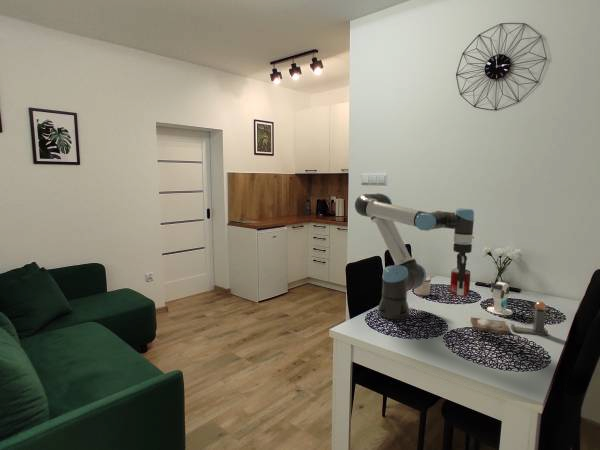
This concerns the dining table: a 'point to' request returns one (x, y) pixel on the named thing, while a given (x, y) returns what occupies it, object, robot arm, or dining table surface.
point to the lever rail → (528, 330)
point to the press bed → (489, 325)
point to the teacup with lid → (423, 288)
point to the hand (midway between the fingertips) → (459, 292)
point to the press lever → (539, 317)
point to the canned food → (454, 283)
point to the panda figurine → (500, 298)
